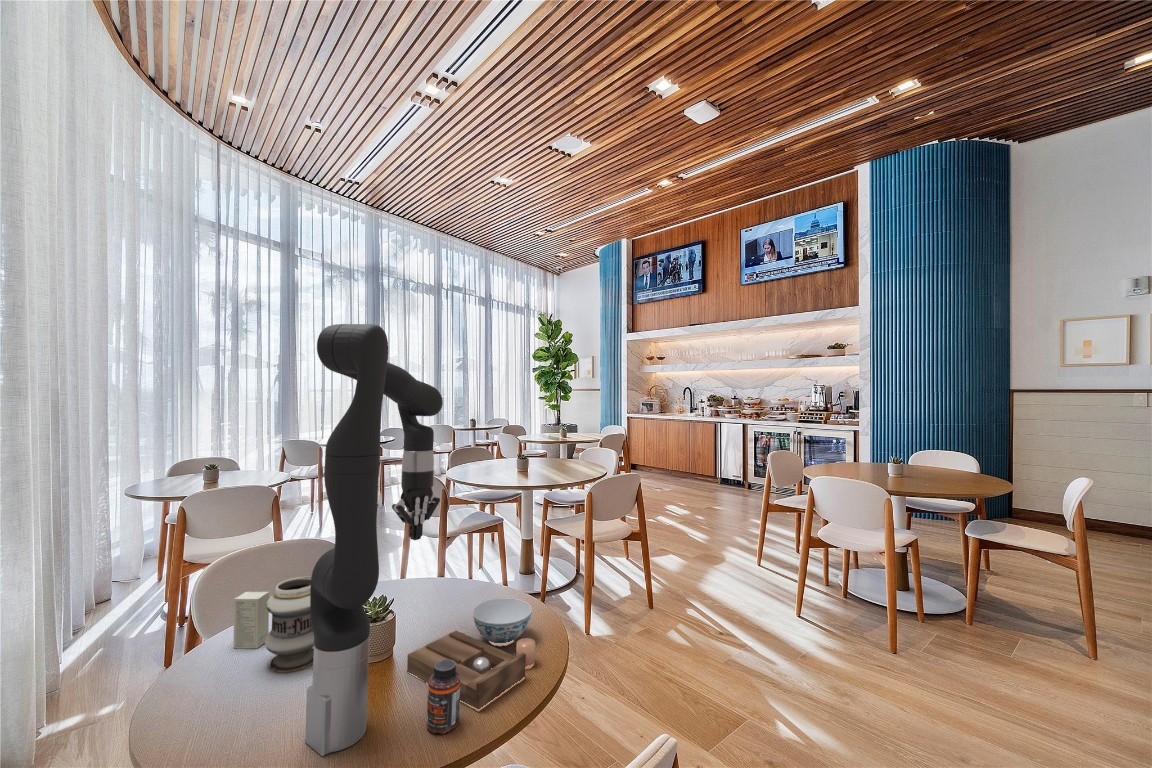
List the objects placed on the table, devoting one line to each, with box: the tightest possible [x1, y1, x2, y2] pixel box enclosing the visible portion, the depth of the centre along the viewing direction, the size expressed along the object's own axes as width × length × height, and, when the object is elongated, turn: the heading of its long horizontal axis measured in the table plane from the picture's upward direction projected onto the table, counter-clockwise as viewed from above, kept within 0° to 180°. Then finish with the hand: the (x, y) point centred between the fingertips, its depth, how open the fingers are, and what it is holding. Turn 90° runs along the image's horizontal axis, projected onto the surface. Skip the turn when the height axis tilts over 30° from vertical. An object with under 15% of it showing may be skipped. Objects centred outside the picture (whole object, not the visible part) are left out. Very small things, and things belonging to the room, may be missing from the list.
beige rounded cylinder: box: [515, 637, 536, 666], centre depth 111 cm, size 4×4×5 cm
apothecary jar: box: [264, 576, 314, 673], centre depth 111 cm, size 12×12×18 cm
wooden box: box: [406, 630, 526, 709], centre depth 106 cm, size 14×23×6 cm, turn 55°
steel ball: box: [471, 657, 491, 674], centre depth 106 cm, size 4×4×4 cm
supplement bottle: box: [426, 659, 461, 734], centre depth 90 cm, size 6×6×11 cm
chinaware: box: [472, 597, 533, 643], centre depth 122 cm, size 15×15×8 cm
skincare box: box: [233, 591, 270, 650], centre depth 118 cm, size 6×4×12 cm
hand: (415, 539), depth 117 cm, fingers closed
